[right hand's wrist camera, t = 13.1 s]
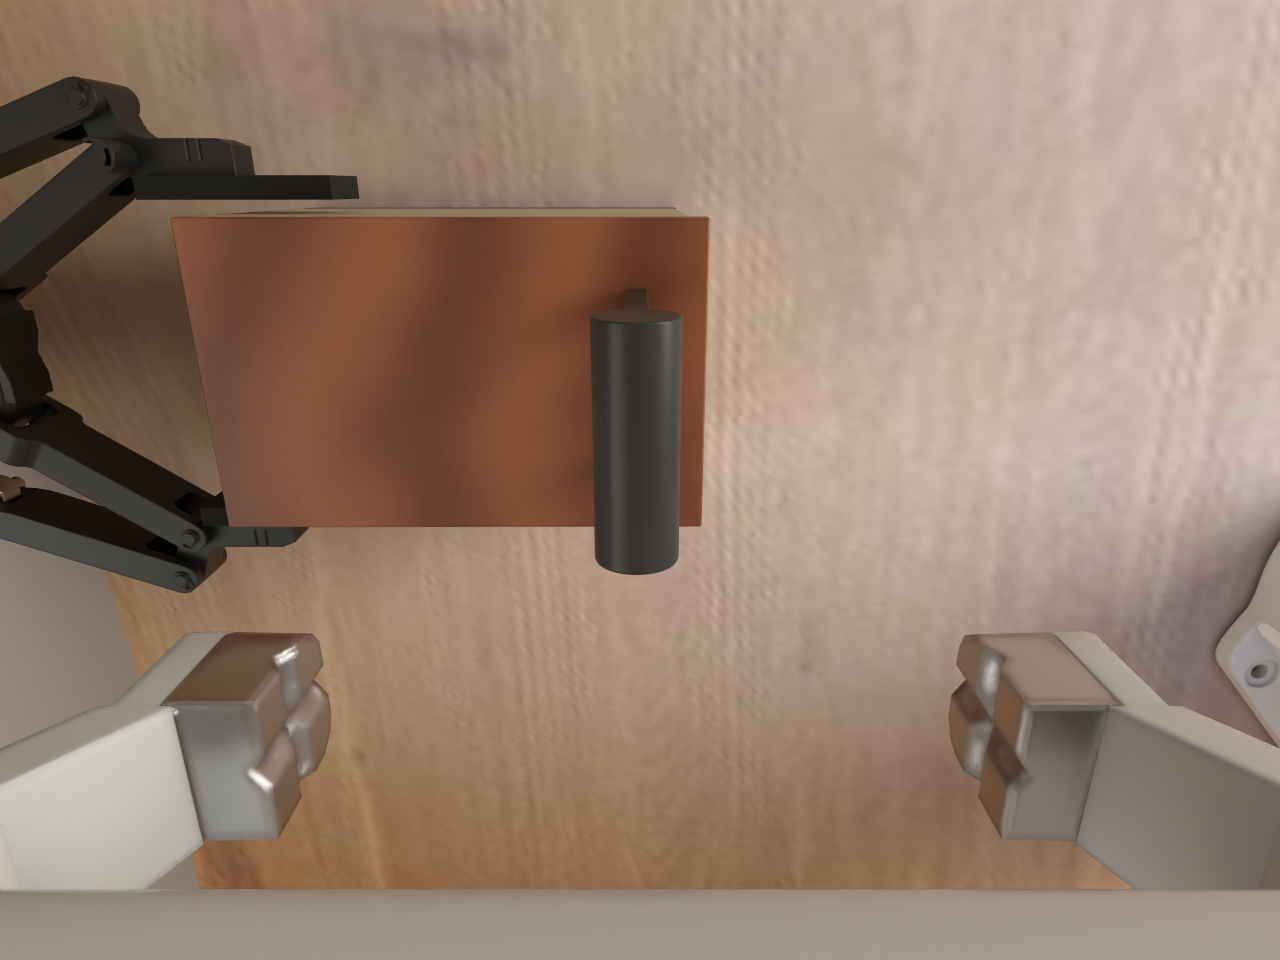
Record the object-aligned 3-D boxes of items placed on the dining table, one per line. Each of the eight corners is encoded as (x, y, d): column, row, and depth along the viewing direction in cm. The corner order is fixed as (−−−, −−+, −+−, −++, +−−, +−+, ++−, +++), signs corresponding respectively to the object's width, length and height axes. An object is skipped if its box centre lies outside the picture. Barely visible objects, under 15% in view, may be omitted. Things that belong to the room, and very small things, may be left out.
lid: (707, 216, 25) (740, 229, 17) (699, 517, 28) (723, 644, 20) (183, 216, 25) (-26, 230, 17) (240, 518, 28) (88, 645, 20)
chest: (674, 207, 35) (689, 215, 25) (671, 431, 38) (683, 517, 28) (313, 207, 35) (184, 216, 25) (343, 432, 38) (240, 518, 28)
